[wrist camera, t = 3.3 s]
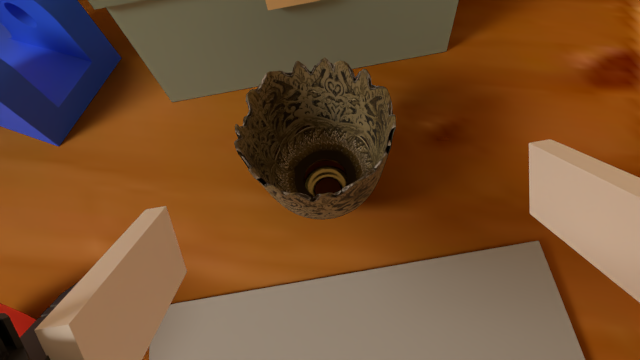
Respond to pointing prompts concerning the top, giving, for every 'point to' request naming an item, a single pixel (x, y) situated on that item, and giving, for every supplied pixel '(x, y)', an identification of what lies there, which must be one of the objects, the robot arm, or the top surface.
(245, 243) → the top surface
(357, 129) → the cup
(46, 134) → the bracket
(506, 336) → the rubber mat
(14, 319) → the apple
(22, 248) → the top surface
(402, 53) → the toolbox
